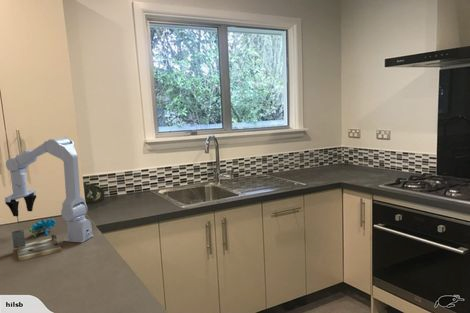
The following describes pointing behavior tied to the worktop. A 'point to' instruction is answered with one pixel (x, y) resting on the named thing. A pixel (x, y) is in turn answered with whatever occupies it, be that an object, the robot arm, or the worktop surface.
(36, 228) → the blue bumpy figurine
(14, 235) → the grey rectangular block
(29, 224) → the worktop surface
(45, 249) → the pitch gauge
